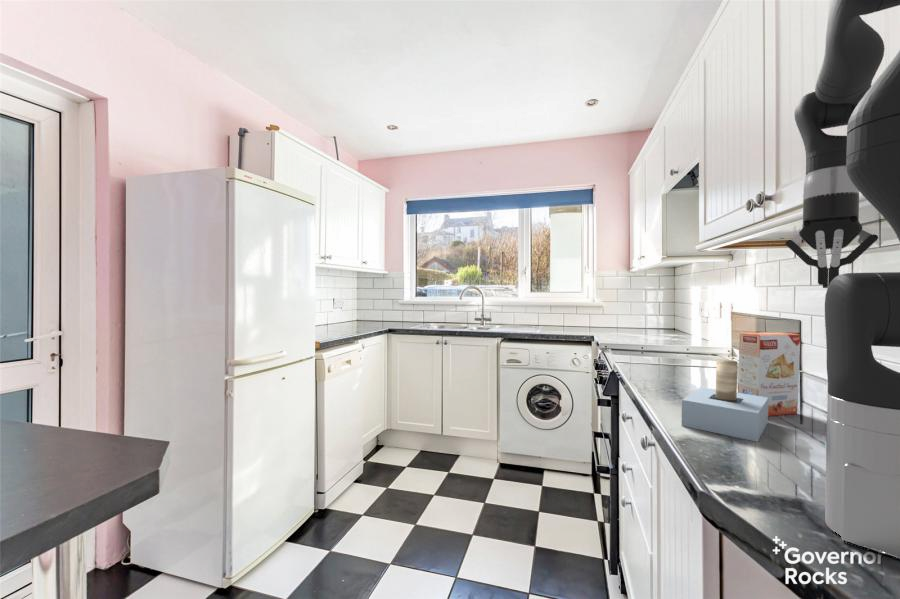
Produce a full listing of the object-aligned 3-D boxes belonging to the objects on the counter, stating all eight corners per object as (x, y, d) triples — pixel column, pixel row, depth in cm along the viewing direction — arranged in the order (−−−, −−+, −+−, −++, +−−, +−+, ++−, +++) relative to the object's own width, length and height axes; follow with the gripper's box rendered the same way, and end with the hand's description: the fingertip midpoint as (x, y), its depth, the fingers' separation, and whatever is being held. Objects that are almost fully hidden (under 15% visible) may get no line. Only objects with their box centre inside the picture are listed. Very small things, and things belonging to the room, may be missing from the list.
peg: (734, 423, 89) (736, 362, 89) (713, 419, 92) (714, 360, 92) (737, 419, 92) (739, 360, 92) (716, 415, 95) (718, 358, 95)
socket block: (757, 441, 81) (758, 413, 81) (681, 425, 90) (681, 399, 90) (768, 422, 93) (768, 397, 93) (700, 409, 103) (700, 387, 103)
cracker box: (759, 418, 96) (761, 334, 96) (735, 411, 102) (737, 332, 102) (800, 414, 100) (801, 333, 100) (775, 407, 106) (776, 331, 106)
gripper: (782, 198, 75) (780, 287, 75) (884, 184, 66) (882, 287, 66) (785, 204, 80) (783, 288, 81) (880, 193, 71) (878, 288, 71)
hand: (828, 287), depth 73 cm, fingers closed
